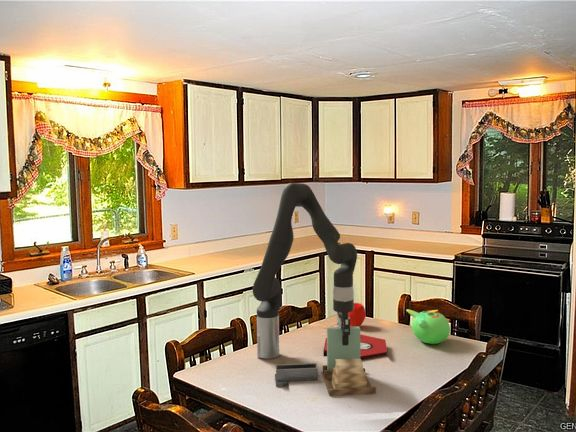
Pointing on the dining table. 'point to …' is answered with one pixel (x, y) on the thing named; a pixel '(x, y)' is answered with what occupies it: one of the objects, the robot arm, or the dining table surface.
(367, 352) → the plaque
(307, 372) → the stand
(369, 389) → the rack
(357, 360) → the offcut top
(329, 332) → the panel
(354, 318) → the apple
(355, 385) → the block
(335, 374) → the block
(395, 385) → the dining table surface
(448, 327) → the toy bird
